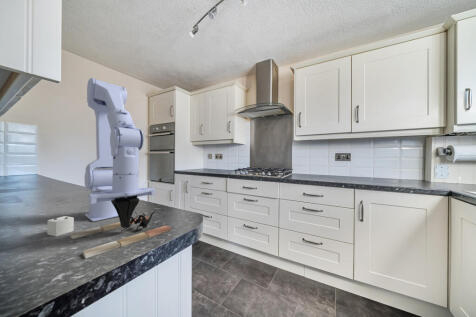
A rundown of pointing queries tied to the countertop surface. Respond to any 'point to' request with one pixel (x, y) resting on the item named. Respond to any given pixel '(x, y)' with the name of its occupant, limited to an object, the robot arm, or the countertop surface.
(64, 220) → the white rectangular block
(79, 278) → the countertop surface
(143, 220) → the creature
